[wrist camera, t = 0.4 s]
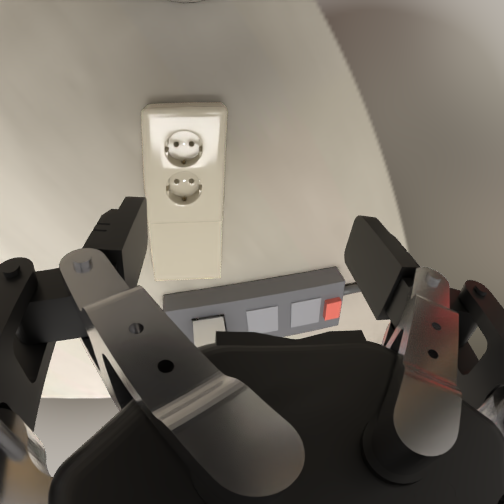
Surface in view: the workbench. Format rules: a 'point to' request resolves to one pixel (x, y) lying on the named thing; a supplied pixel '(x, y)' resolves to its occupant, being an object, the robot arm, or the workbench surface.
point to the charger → (207, 329)
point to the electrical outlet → (184, 187)
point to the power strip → (266, 304)
